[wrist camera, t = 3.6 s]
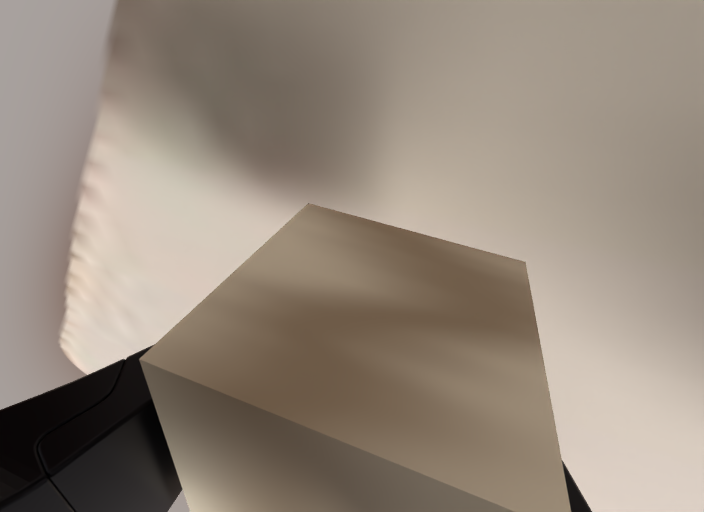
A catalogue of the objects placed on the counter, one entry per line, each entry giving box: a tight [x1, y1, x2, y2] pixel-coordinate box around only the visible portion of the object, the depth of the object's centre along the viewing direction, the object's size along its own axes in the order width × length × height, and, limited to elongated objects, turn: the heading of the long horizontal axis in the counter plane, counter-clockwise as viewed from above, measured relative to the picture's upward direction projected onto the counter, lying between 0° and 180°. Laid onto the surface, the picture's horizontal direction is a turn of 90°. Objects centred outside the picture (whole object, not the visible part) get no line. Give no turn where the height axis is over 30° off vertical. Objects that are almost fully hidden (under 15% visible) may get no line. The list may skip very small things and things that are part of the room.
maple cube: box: [139, 203, 571, 512], centre depth 7 cm, size 5×5×5 cm
